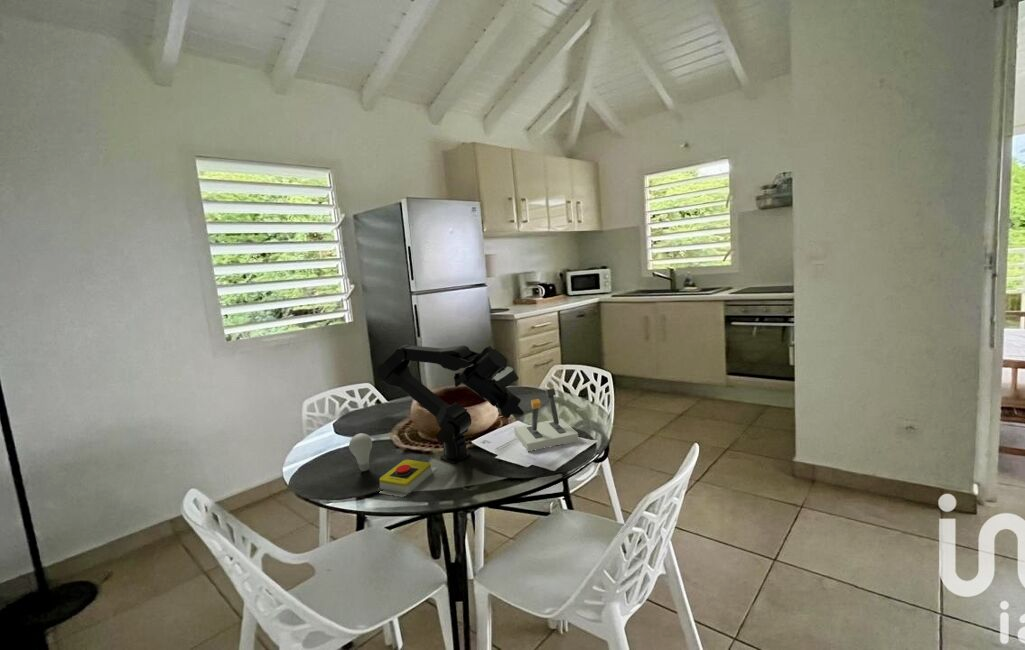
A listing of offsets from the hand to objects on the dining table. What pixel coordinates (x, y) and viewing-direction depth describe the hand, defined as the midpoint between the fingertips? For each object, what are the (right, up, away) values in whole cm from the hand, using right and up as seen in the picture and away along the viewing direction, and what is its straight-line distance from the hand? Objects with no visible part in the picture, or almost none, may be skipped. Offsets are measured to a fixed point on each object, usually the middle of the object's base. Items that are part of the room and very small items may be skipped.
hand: (522, 413), depth 124 cm
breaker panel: (+7, -9, +9) cm, 15 cm away
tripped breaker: (+4, -7, +8) cm, 11 cm away
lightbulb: (-44, -16, -2) cm, 47 cm away
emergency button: (-31, -16, -9) cm, 36 cm away
